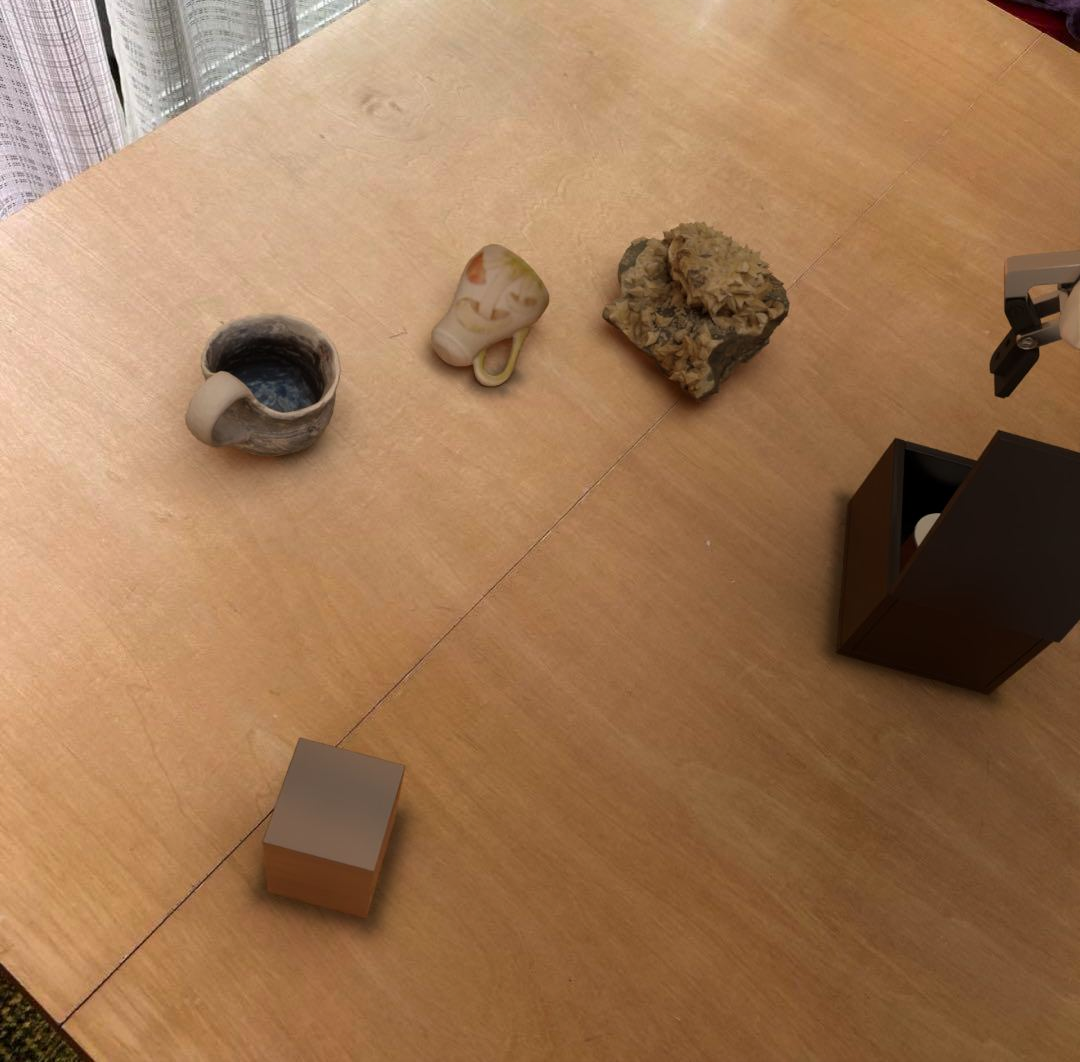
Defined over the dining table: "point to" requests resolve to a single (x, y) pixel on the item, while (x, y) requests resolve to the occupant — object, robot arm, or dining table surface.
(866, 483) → the box
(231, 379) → the mug
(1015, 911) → the dining table surface
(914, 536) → the disc
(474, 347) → the mug
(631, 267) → the mineral specimen
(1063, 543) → the lid
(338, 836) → the stand
